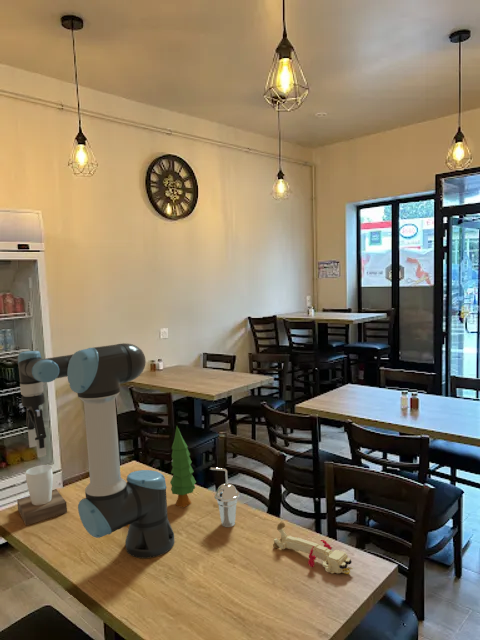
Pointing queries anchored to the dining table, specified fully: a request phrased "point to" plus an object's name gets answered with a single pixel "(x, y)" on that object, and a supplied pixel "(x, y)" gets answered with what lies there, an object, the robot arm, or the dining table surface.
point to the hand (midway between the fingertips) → (37, 451)
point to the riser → (41, 508)
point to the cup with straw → (226, 501)
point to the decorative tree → (181, 471)
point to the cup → (40, 484)
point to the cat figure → (315, 552)
